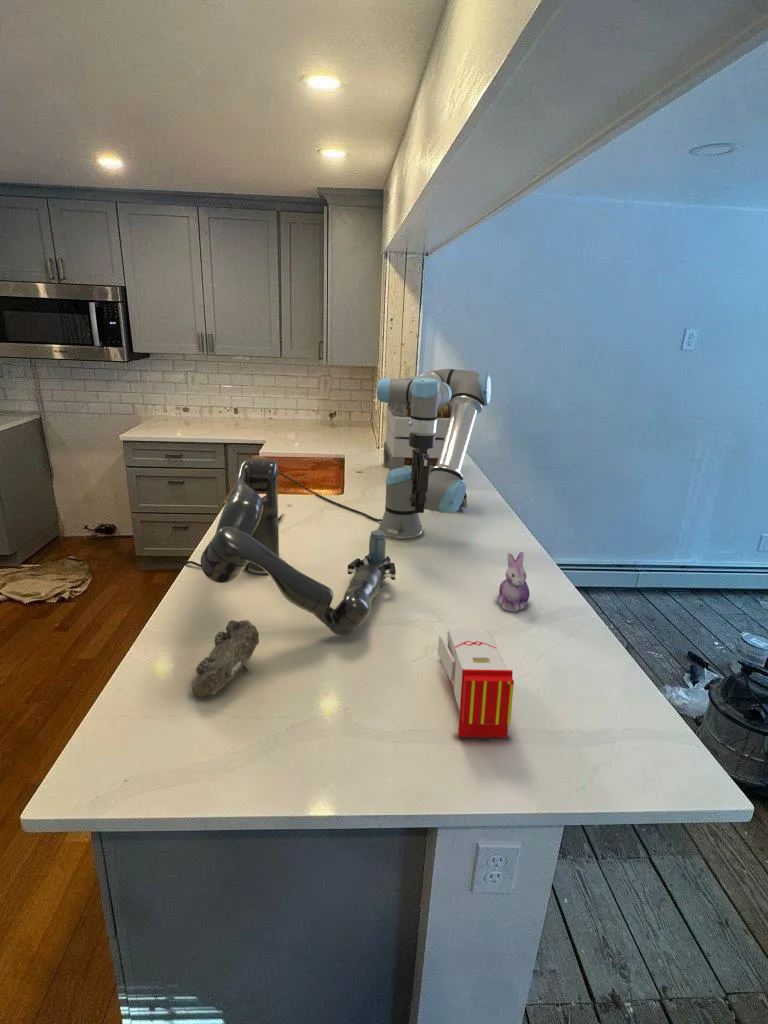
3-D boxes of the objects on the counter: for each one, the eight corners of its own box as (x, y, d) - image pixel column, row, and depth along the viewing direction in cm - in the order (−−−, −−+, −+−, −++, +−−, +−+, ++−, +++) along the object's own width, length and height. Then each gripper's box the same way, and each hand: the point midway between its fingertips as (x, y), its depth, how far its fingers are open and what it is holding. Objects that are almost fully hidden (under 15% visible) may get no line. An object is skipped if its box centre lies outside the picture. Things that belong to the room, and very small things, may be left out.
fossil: (211, 622, 131) (258, 592, 126) (240, 650, 134) (286, 622, 129) (171, 690, 112) (224, 658, 107) (205, 721, 115) (258, 691, 110)
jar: (377, 577, 167) (380, 528, 162) (387, 584, 163) (389, 533, 158) (364, 581, 164) (366, 531, 159) (373, 587, 161) (375, 536, 155)
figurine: (511, 616, 149) (518, 564, 143) (487, 598, 157) (493, 549, 152) (539, 609, 153) (547, 558, 148) (514, 592, 161) (521, 544, 156)
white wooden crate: (382, 463, 289) (386, 382, 275) (445, 464, 293) (451, 384, 279) (390, 482, 257) (394, 392, 243) (460, 483, 261) (468, 394, 247)
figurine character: (467, 516, 223) (461, 500, 237) (469, 499, 220) (463, 483, 233) (450, 516, 223) (446, 499, 236) (452, 498, 220) (447, 483, 233)
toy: (488, 613, 130) (523, 677, 101) (484, 667, 133) (517, 744, 104) (435, 612, 130) (455, 676, 101) (432, 666, 133) (451, 743, 103)
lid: (405, 499, 171) (406, 494, 170) (420, 497, 174) (420, 492, 173) (415, 504, 167) (415, 499, 166) (430, 502, 169) (430, 497, 169)
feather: (290, 508, 223) (292, 504, 223) (272, 532, 197) (275, 527, 196) (286, 505, 223) (289, 501, 223) (268, 529, 197) (271, 525, 196)
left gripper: (338, 593, 151) (354, 566, 167) (391, 600, 148) (402, 572, 164) (338, 567, 148) (355, 543, 164) (392, 574, 146) (403, 549, 162)
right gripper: (404, 426, 171) (399, 499, 179) (415, 440, 154) (410, 520, 162) (428, 427, 172) (423, 499, 180) (442, 440, 155) (436, 519, 163)
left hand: (378, 558), depth 164 cm, fingers closed on jar, 4 cm apart
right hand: (417, 509), depth 171 cm, fingers closed on lid, 5 cm apart
